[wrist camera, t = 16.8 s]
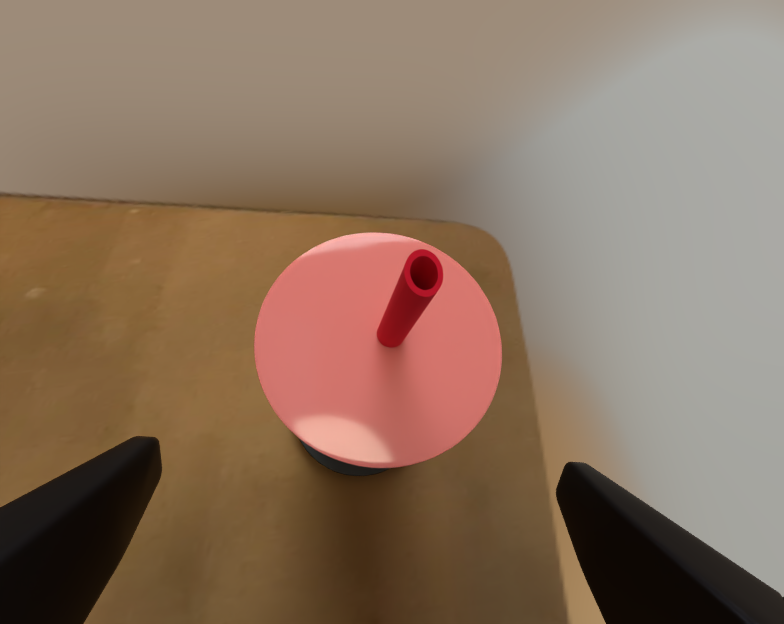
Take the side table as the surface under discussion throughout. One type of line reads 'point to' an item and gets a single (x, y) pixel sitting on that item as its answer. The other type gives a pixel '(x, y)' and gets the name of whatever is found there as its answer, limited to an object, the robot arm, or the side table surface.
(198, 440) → the side table surface
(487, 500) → the side table surface
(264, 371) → the cup
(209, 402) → the side table surface
